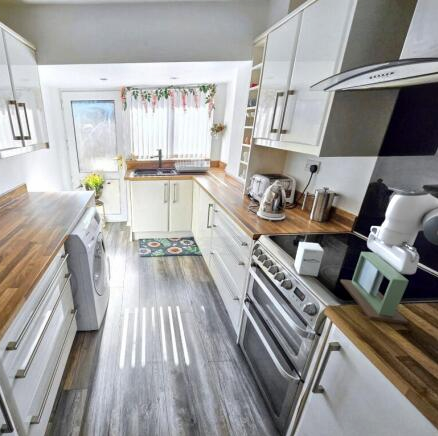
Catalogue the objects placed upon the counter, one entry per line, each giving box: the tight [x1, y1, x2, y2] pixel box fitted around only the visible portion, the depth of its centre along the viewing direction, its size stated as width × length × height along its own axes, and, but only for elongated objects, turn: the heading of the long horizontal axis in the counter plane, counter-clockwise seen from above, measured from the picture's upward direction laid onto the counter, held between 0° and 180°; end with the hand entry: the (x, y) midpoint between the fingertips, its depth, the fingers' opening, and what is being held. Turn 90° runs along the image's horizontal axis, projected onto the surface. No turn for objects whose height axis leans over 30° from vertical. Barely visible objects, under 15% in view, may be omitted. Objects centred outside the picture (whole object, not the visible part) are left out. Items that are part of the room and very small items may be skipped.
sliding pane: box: [371, 271, 385, 296], centre depth 86 cm, size 5×8×11 cm, turn 165°
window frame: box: [339, 251, 409, 325], centre depth 84 cm, size 10×21×15 cm, turn 165°
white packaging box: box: [293, 241, 325, 277], centre depth 103 cm, size 7×7×13 cm
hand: (383, 270), depth 87 cm, fingers open, 3 cm apart
